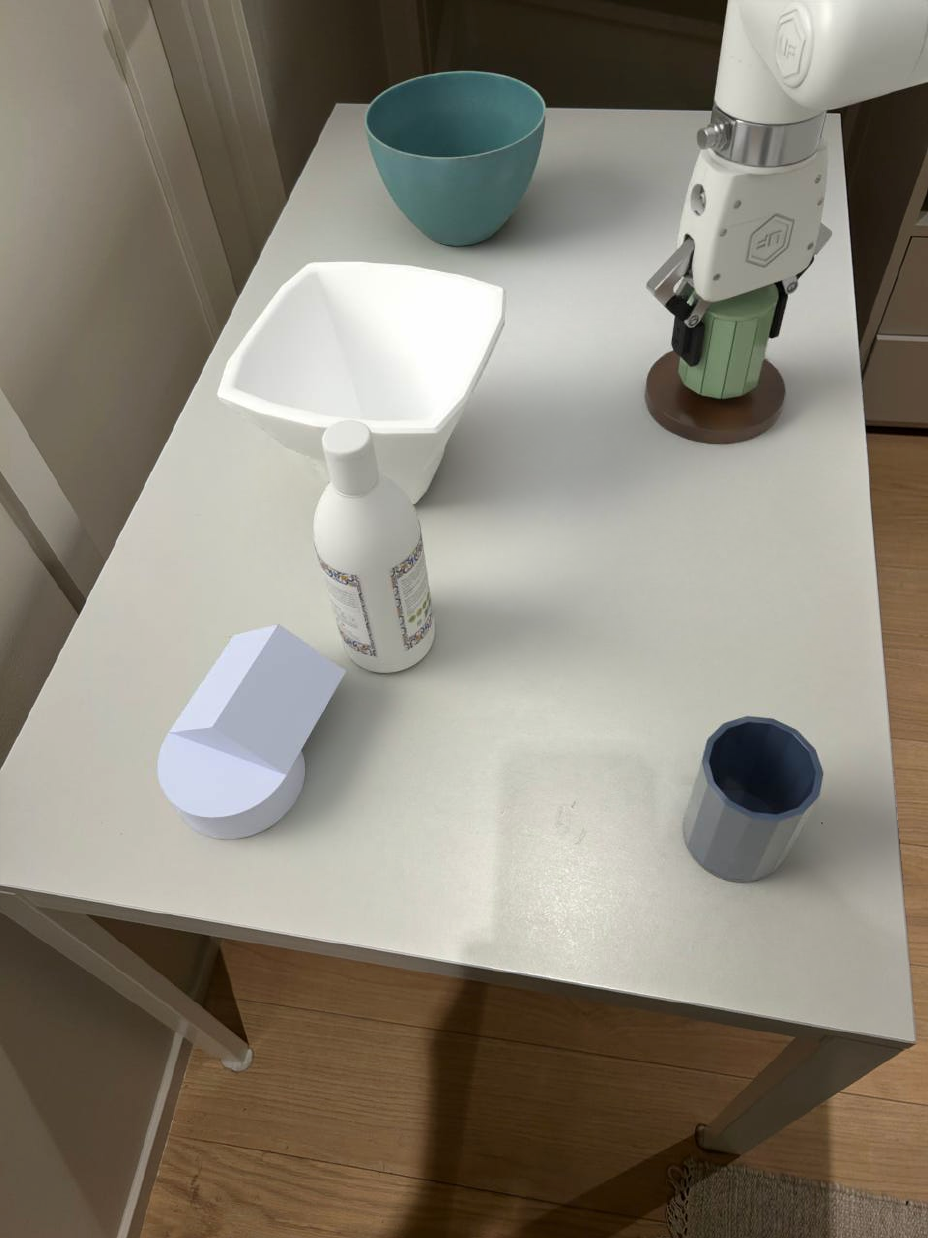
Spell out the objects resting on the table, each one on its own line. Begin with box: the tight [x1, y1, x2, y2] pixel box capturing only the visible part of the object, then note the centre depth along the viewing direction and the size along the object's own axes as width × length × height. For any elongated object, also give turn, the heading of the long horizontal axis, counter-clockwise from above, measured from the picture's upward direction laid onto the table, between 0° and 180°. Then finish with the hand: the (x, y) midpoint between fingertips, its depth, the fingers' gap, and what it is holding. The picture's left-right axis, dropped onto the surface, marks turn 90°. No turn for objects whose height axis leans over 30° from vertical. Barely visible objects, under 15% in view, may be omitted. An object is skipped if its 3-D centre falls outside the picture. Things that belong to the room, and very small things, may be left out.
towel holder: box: [644, 349, 786, 445], centre depth 79 cm, size 12×12×10 cm
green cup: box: [678, 283, 779, 399], centre depth 78 cm, size 7×7×8 cm
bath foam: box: [312, 420, 436, 674], centre depth 61 cm, size 7×7×20 cm
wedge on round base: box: [156, 623, 347, 841], centre depth 62 cm, size 9×7×13 cm
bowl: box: [217, 261, 507, 505], centre depth 74 cm, size 19×19×14 cm
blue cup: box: [682, 715, 824, 883], centre depth 55 cm, size 6×6×9 cm
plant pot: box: [363, 70, 547, 247], centre depth 98 cm, size 18×18×12 cm
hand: (725, 341), depth 78 cm, fingers closed on green cup, 7 cm apart
